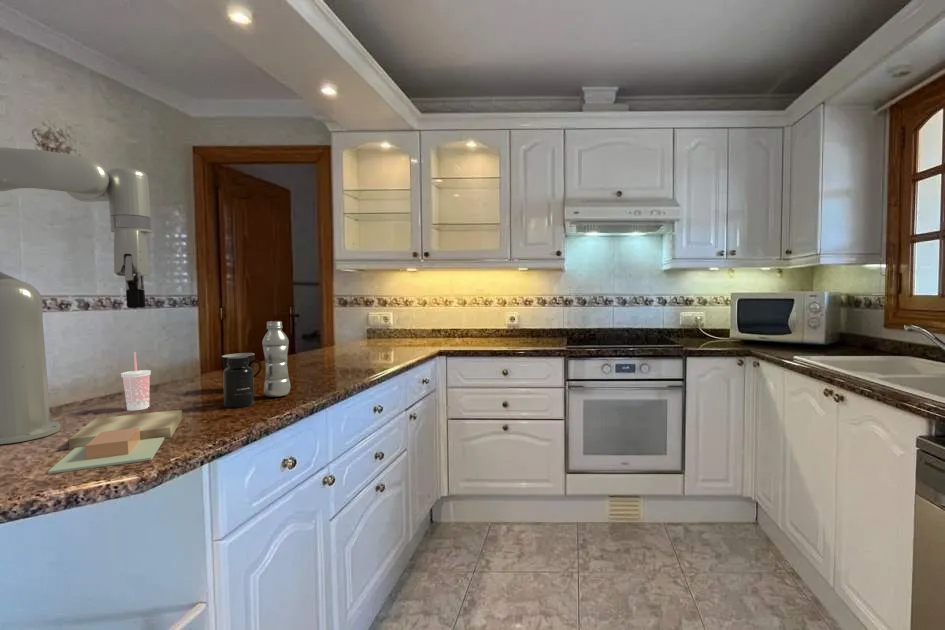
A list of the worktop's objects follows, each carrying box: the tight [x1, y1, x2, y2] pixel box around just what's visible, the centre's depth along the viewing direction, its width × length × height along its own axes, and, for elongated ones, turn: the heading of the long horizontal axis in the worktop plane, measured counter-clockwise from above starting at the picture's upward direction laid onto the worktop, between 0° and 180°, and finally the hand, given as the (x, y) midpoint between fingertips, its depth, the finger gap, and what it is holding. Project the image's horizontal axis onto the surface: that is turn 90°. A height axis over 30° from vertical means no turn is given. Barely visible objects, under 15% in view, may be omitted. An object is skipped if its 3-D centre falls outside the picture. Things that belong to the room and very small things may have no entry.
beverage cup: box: [120, 351, 152, 411], centre depth 123 cm, size 6×6×14 cm
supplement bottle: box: [222, 356, 255, 409], centre depth 123 cm, size 7×7×12 cm
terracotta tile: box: [85, 428, 140, 460], centre depth 89 cm, size 6×9×2 cm, turn 23°
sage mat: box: [47, 437, 165, 475], centre depth 88 cm, size 14×13×1 cm
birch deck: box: [68, 409, 183, 451], centre depth 101 cm, size 16×16×2 cm
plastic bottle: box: [261, 320, 291, 398], centre depth 132 cm, size 6×7×20 cm
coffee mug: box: [221, 352, 263, 379], centre depth 142 cm, size 12×9×10 cm
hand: (136, 307), depth 112 cm, fingers closed
